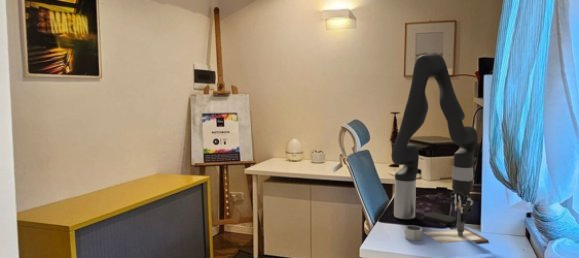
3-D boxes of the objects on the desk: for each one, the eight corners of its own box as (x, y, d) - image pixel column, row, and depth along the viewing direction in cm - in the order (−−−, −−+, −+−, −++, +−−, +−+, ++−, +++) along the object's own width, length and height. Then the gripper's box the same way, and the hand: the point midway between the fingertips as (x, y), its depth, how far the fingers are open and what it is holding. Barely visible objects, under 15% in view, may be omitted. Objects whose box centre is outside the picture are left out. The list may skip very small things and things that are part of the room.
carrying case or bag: (418, 222, 202) (449, 230, 191) (418, 215, 202) (449, 223, 191) (431, 217, 209) (462, 224, 198) (431, 210, 209) (462, 217, 198)
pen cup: (402, 238, 181) (402, 226, 180) (416, 237, 182) (416, 224, 181) (409, 243, 175) (410, 231, 174) (424, 242, 176) (424, 229, 175)
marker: (455, 233, 182) (456, 203, 181) (461, 232, 183) (462, 203, 181) (459, 235, 179) (460, 205, 178) (465, 235, 180) (466, 205, 179)
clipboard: (416, 233, 186) (416, 231, 186) (465, 229, 191) (465, 227, 190) (436, 247, 171) (436, 244, 171) (488, 242, 176) (488, 239, 176)
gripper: (444, 174, 184) (442, 216, 186) (464, 182, 171) (462, 227, 173) (460, 173, 186) (459, 215, 188) (482, 181, 172) (480, 226, 174)
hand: (460, 220), depth 180 cm, fingers closed on marker, 2 cm apart
